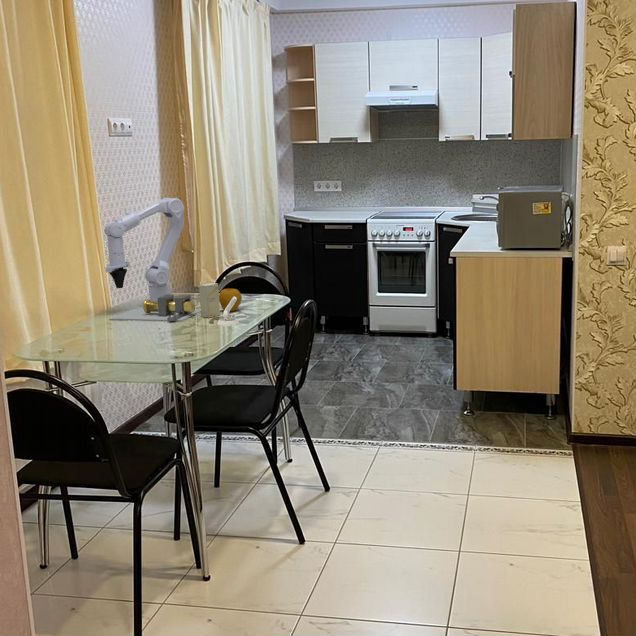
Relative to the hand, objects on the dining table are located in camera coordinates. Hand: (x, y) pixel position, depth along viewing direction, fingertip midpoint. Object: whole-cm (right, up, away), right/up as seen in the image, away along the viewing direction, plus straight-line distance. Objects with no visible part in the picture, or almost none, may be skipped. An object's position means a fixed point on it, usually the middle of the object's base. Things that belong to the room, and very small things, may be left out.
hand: (119, 288), depth 321 cm
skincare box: (+37, -11, -12) cm, 40 cm away
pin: (+21, -10, -9) cm, 25 cm away
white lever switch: (+45, -14, -27) cm, 54 cm away
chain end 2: (+26, -11, -13) cm, 31 cm away
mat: (+16, -11, -7) cm, 20 cm away
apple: (+44, -9, -4) cm, 45 cm away
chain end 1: (+21, -9, -5) cm, 23 cm away
